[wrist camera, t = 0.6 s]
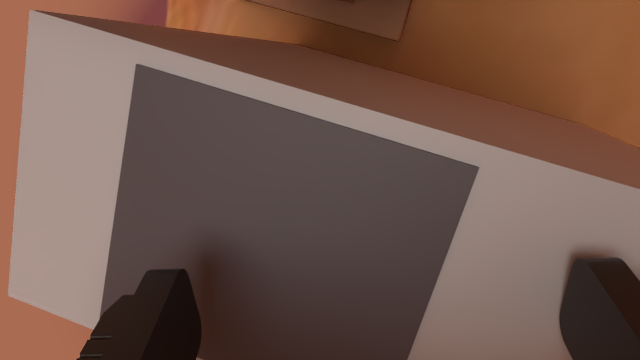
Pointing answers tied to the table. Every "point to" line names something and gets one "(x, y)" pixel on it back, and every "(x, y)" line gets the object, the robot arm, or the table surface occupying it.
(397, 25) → the stamp rack
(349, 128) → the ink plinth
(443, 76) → the table surface
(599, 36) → the table surface
